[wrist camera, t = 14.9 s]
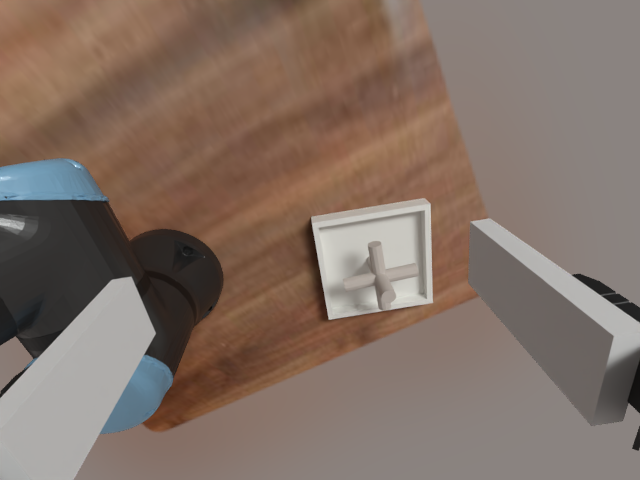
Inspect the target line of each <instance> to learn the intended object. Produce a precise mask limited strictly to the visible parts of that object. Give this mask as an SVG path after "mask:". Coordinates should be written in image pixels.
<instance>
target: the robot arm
mask: <svg viewBox="0 0 640 480" xmlns="http://www.w3.org/2000/svg"><path fill="white" fill-rule="evenodd" d="M108 202H109V199H108V198H107V197H106V196H104V195H103V194H102V192H101V190H100V189H99V187H98V186H97V184H96V182H95V181H94V179H93V177H92V176H91V174H90V173H89V171H88V170H87V169H86V168H85V167H84V166H83V165H82V164H80V163H79V162H77V161H74V160H70V159H64V158H60V159H50V160H42V161H35V162H28V163H22V164H15V165H9V166H3V167H0V345H2V344H3V343H5V342H7V341H8V340H10V339H11V338H13V337H15V336H16V337H17V338H18V339H19V341H20V342H21V343H22V344H23V346H24V347H25V348H26V350H27V351H28V352H29V353H30V355H31V356H32V357H33V360H32V361H31V362H30V363H29V364H28V365H27V366H26V367H25V368H24V370H23V371H22V372H20V373H19V374H18V375H16V376H15V377H14V378H13V379H12V380H11V381H10V382H9V383H8V384H7V385H6V386H5V387H4V388H3V389H2V390H1V394H0V480H74V478H75V476H76V475H77V473H78V471H79V469H80V467H81V466H82V464H83V462H84V460H85V458H86V457H87V455H88V453H89V451H90V450H91V448H92V446H93V444H94V443H95V441H96V439H97V437H98V435H99V434H106V433H114V432H120V431H124V430H127V429H129V428H133V427H135V426H137V425H139V424H141V423H142V422H144V421H145V420H147V419H148V418H149V417H150V416H152V415H153V414H154V412H155V411H156V410H157V409H158V407H159V405H160V403H161V401H162V399H163V397H164V395H165V393H166V392H167V391H168V389H169V388H170V387H171V385H172V382H173V378H174V375H175V373H176V370H177V368H178V365H179V363H180V360H181V358H182V355H183V353H184V350H185V348H186V345H187V343H188V340H189V338H190V335H191V332H192V330H193V328H194V326H195V325H197V324H198V323H199V322H200V321H201V320H202V319H203V318H205V317H206V316H207V315H208V314H209V313H210V312H211V311H212V310H213V308H214V307H215V305H216V304H217V302H218V299H219V297H220V294H221V291H222V288H223V272H222V268H221V265H220V263H219V261H218V259H217V257H216V256H215V254H214V253H213V252H212V251H211V249H210V248H209V247H208V246H206V245H205V244H204V243H203V242H201V241H200V240H198V239H197V238H195V237H193V236H191V235H189V234H186V233H183V232H180V231H176V230H168V229H159V230H152V231H148V232H144V233H142V234H140V235H138V236H136V237H134V238H133V239H132V240H130V241H129V240H128V238H127V236H126V234H125V232H124V230H123V229H122V227H121V225H120V223H119V221H118V219H117V218H116V216H115V214H114V212H113V210H112V208H111V207H110V205H109V203H108ZM468 283H469V284H470V286H471V287H472V288H473V289H474V290H475V291H476V293H477V294H478V295H479V296H480V297H481V298H482V300H483V301H484V302H485V303H486V304H487V305H488V306H489V308H490V309H491V310H492V311H493V312H494V314H496V316H497V317H498V318H499V319H500V320H501V322H502V323H503V324H504V325H505V326H506V327H507V328H508V330H509V331H510V332H511V333H512V334H513V335H514V337H515V338H516V339H517V340H518V341H519V343H520V344H521V345H522V346H523V347H524V348H525V349H526V351H527V352H528V353H529V354H530V355H531V356H532V358H533V359H534V360H535V361H536V362H537V363H538V365H539V366H540V367H541V368H542V369H543V370H544V371H545V373H546V374H547V375H548V376H549V377H550V379H551V380H552V381H553V382H554V383H555V384H556V386H558V388H559V389H560V390H561V391H562V392H563V394H564V395H565V396H566V397H567V398H568V399H569V401H570V402H571V403H572V404H573V405H574V406H575V408H576V409H577V410H578V411H579V412H580V413H581V415H582V416H583V417H584V418H585V419H586V420H587V422H588V423H589V424H590V425H591V426H595V425H602V424H608V423H614V422H619V421H623V419H624V416H625V413H626V409H627V406H628V403H630V404H631V405H632V406H633V407H634V408H635V409H636V410H637V411H638V412H639V413H640V308H639V307H638V306H637V305H635V304H634V303H629V300H627V299H626V298H624V297H623V296H621V295H620V294H616V293H615V291H613V290H612V289H611V288H609V287H607V286H606V285H604V284H603V283H601V282H600V281H597V280H595V279H592V278H589V277H587V276H584V275H581V274H574V275H570V274H569V273H568V272H566V271H565V270H563V269H562V268H560V267H559V266H557V265H556V264H554V263H553V262H552V261H550V260H549V259H547V258H546V257H545V256H543V255H542V254H540V253H539V252H537V251H536V250H534V249H533V248H532V247H530V246H529V245H527V244H526V243H525V242H523V241H522V240H520V239H519V238H517V237H516V236H514V235H513V234H512V233H510V232H509V231H507V230H506V229H504V228H503V227H502V226H500V225H499V224H497V223H496V222H494V221H493V220H492V219H484V220H478V221H472V222H470V246H469V278H468ZM639 448H640V426H639V429H638V432H637V436H636V438H635V441H634V445H633V448H632V449H635V450H639Z"/></svg>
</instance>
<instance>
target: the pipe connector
mask: <svg viewBox="0 0 640 480" xmlns="http://www.w3.org/2000/svg"><path fill="white" fill-rule="evenodd" d="M368 251H369V257H368V258H367V264H368V266H369V269H370V271H371V273H367V274H362V275H357V276H353V277H348V278H344V279H343V282H344V287H345V291H346V292H348V291H352V290H357V289H361V288H366V287H370V286H375V290H376V296H377V302H378V307H379V309H380V310H382V311H387V310H389V309H390V308H391V302H393V301H394V300H395V299H396V293H395V291H394V289H393V287H392V285H391V283H390V282H393V281H398V280H403V279H407V278H412V277H416V276H418V275H419V273H418V268H417V265H416V264H415V263H412V264H408V265H403V266H399V267H394V268H389V269H385V263H384V256H383V250H382V244H381V242H380V241H372V242H370V243H368Z"/></svg>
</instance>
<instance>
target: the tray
mask: <svg viewBox="0 0 640 480" xmlns="http://www.w3.org/2000/svg"><path fill="white" fill-rule="evenodd" d="M311 220H312V227H313V233H314V238H315V244H316V250H317V255H318V261H319V267H320V273H321V278H322V284H323V290H324V296H325V301H326V307H327V313H328V318H329V320H331V319H337V318H343V317H349V316H355V315H361V314H367V313H373V312H379V311H382V310H380V309H379V307H378V302H377V296H376V290H375V286H370V287H366V288H361V289H357V290H352V291H348V292H346V291H345V287H344V282H343V279H344V278H348V277H353V276H357V275H362V274H367V273H371V271H370V269H369V266H368V264H367V258H368V257H369V251H368V243H370V242H372V241H380V242H381V244H382V250H383V256H384V263H385V269H389V268H394V267H399V266H403V265H408V264H412V263H415V264H416V265H417V268H418V273H419V275H418V276H416V277H412V278H407V279H403V280H398V281H393V282H390V283H391V285H392V287H393V289H394V291H395V293H396V299H395V300H394V301H393V302H391V308H390V309H389V310H392V309H398V308H404V307H410V306H416V305H422V304H428V303H433V296H432V252H431V208H430V203H429V202H428V201H427V200H426V199H425V198H422V199H416V200H410V201H404V202H398V203H392V204H386V205H380V206H374V207H368V208H362V209H355V210H349V211H343V212H337V213H331V214H325V215H319V216H313V217H311Z"/></svg>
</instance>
